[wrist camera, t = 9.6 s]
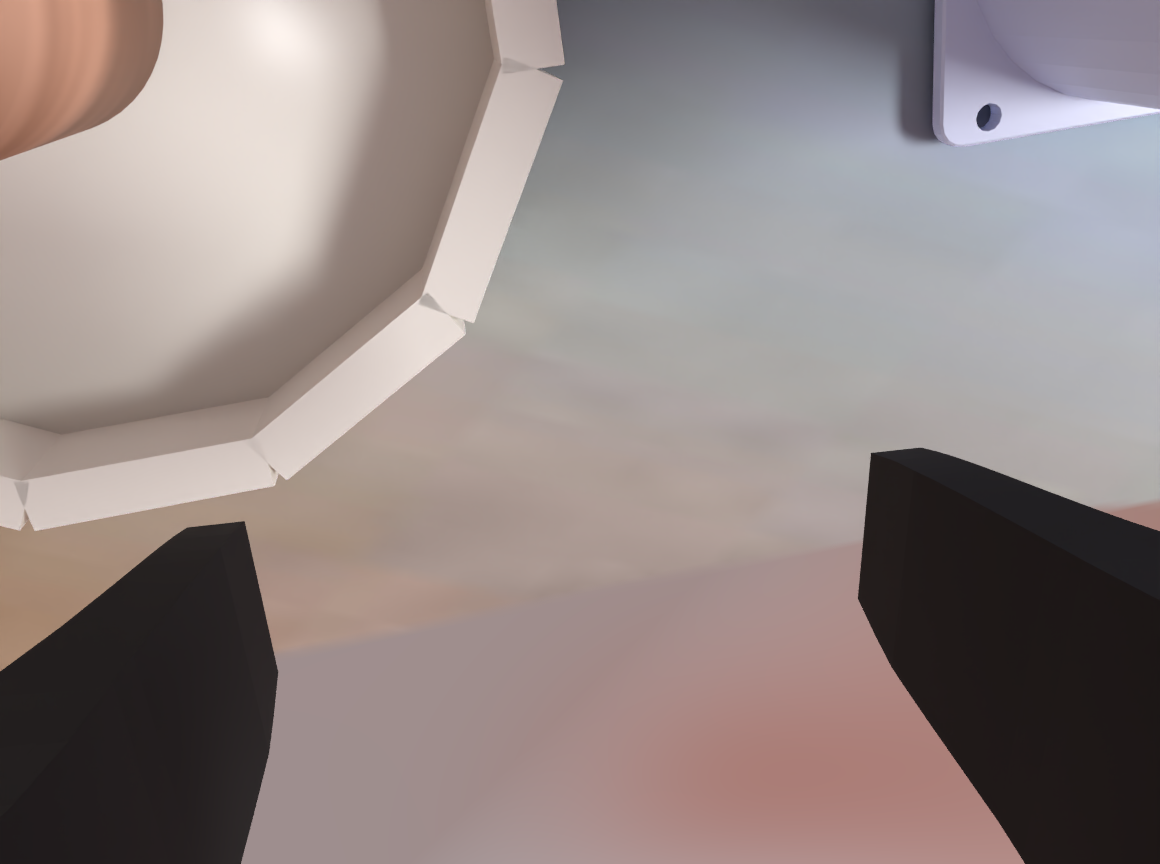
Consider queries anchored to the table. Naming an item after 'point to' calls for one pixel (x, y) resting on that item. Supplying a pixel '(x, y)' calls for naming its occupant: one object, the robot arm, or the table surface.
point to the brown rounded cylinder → (71, 65)
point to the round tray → (257, 243)
